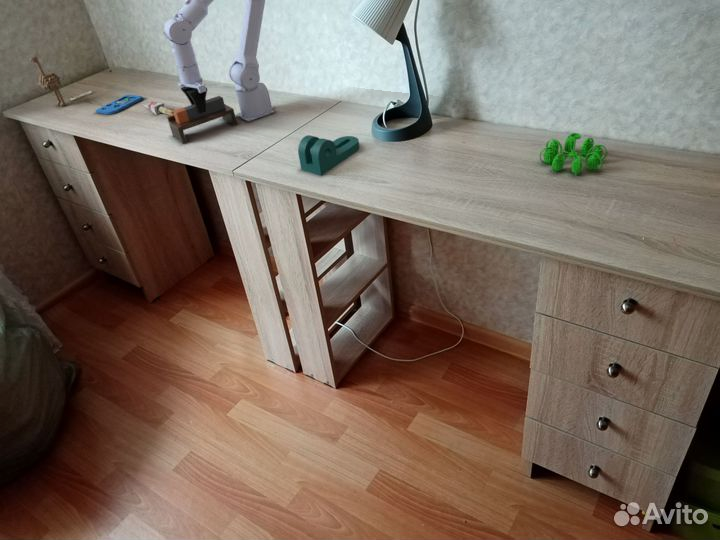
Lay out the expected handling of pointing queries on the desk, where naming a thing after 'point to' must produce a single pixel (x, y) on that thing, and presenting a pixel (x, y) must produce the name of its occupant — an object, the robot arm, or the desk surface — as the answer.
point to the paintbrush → (157, 108)
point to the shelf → (200, 122)
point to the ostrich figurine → (51, 83)
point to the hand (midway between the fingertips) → (200, 110)
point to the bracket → (325, 153)
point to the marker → (192, 113)
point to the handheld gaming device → (119, 104)
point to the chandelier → (573, 154)
